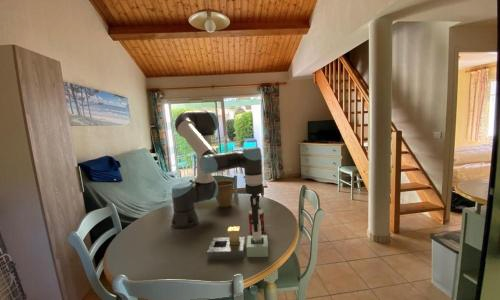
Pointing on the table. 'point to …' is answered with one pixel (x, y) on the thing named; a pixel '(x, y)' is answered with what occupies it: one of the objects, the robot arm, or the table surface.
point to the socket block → (225, 249)
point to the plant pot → (225, 193)
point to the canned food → (261, 217)
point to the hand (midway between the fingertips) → (256, 230)
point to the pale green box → (257, 247)
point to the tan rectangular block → (234, 236)
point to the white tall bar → (259, 241)
